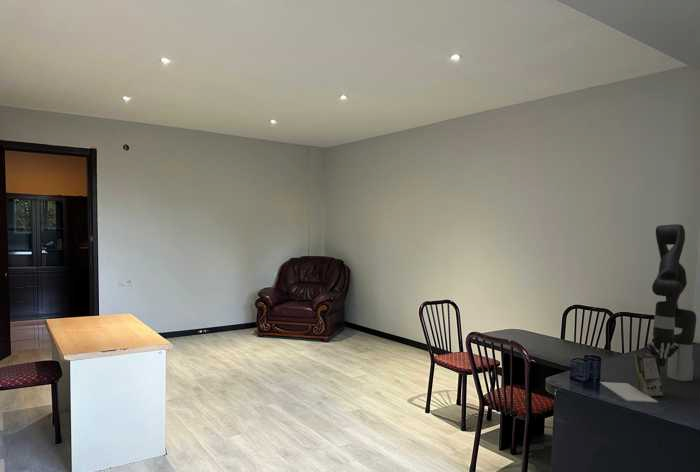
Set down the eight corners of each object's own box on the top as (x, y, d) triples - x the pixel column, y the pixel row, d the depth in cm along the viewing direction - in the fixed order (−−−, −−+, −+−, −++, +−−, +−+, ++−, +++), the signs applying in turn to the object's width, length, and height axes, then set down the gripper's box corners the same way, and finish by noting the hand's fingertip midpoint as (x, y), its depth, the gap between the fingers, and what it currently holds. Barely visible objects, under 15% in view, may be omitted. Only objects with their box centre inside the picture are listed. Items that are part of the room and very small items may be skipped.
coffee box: (663, 395, 201) (659, 357, 201) (647, 396, 202) (642, 358, 202) (654, 388, 210) (649, 351, 210) (638, 389, 211) (633, 352, 211)
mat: (627, 384, 217) (627, 383, 217) (657, 402, 195) (657, 401, 195) (599, 383, 217) (599, 381, 217) (627, 401, 195) (627, 400, 195)
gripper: (673, 325, 209) (670, 364, 210) (643, 323, 209) (640, 362, 210) (685, 329, 202) (682, 369, 202) (653, 327, 202) (650, 368, 202)
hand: (660, 366), depth 206 cm, fingers closed
